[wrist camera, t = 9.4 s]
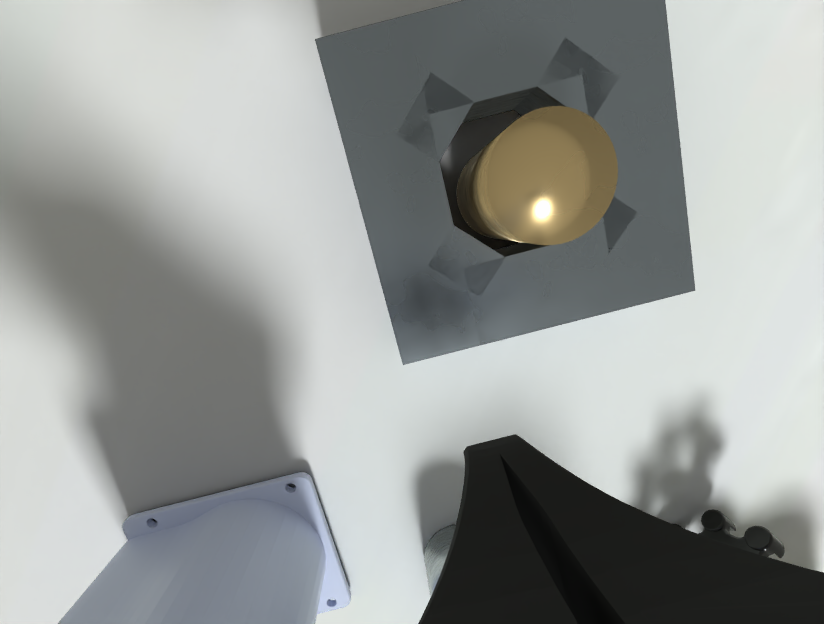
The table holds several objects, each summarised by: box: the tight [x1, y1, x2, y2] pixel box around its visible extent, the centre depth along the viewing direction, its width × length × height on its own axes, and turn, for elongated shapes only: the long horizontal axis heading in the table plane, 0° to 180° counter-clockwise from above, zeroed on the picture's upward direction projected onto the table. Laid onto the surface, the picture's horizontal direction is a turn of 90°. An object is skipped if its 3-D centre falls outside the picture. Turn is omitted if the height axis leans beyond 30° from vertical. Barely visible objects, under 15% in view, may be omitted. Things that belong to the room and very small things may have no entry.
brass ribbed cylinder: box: [457, 106, 618, 245], centre depth 15 cm, size 4×4×6 cm
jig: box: [315, 0, 695, 365], centre depth 17 cm, size 12×12×3 cm
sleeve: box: [424, 525, 456, 596], centre depth 20 cm, size 4×4×4 cm
